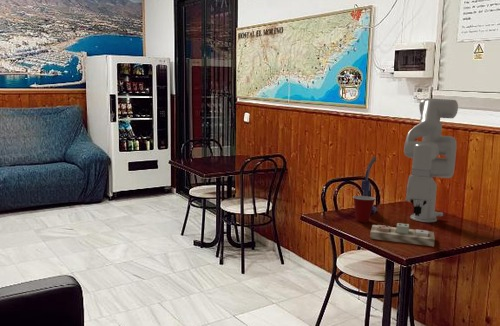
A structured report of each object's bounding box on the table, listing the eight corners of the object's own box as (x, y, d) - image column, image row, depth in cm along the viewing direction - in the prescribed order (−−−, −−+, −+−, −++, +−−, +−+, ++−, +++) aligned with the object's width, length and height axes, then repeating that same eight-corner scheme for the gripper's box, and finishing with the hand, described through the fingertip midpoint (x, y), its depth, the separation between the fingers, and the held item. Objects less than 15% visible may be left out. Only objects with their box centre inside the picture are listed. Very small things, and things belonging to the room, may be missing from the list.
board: (432, 238, 221) (433, 231, 221) (434, 246, 210) (434, 239, 209) (372, 231, 229) (372, 224, 228) (370, 238, 217) (370, 231, 217)
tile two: (408, 231, 220) (409, 223, 220) (408, 234, 216) (408, 226, 215) (396, 230, 222) (397, 222, 221) (396, 233, 217) (396, 225, 217)
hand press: (371, 216, 256) (375, 161, 251) (354, 213, 259) (358, 159, 255) (379, 208, 272) (383, 157, 268) (363, 206, 276) (367, 155, 272)
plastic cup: (372, 218, 251) (374, 194, 249) (375, 224, 240) (377, 199, 238) (350, 217, 252) (351, 193, 250) (352, 222, 241) (354, 198, 239)
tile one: (427, 238, 218) (427, 230, 218) (427, 241, 214) (428, 233, 213) (415, 236, 220) (415, 228, 219) (415, 240, 215) (415, 231, 215)
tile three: (389, 233, 223) (389, 225, 223) (388, 236, 218) (389, 228, 218) (377, 232, 225) (378, 224, 224) (376, 235, 220) (377, 227, 219)
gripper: (439, 173, 215) (434, 215, 218) (402, 170, 219) (398, 211, 221) (440, 176, 208) (436, 219, 210) (402, 172, 211) (398, 215, 214)
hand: (417, 215), depth 216 cm, fingers closed
